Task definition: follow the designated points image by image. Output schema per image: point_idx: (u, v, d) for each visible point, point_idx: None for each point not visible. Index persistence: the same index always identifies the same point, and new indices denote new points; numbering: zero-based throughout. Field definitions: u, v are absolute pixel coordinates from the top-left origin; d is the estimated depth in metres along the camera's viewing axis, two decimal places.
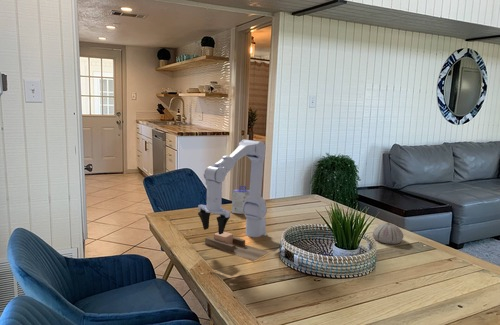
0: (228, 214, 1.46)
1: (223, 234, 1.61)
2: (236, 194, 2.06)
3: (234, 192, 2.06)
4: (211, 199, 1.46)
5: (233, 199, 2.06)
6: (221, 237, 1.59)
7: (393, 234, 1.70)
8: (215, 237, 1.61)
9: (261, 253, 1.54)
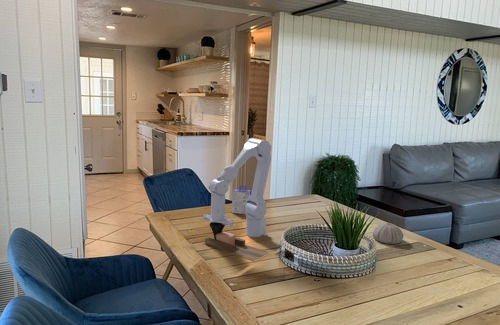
0: (231, 224, 1.58)
1: (225, 235, 1.60)
2: (236, 194, 2.06)
3: (234, 192, 2.06)
4: (215, 210, 1.59)
5: (233, 199, 2.06)
6: (223, 238, 1.58)
7: (393, 233, 1.70)
8: (217, 238, 1.60)
9: (261, 253, 1.54)
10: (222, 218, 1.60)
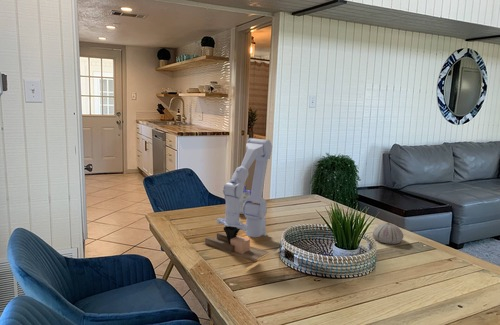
0: (246, 228, 1.54)
1: (240, 239, 1.56)
2: None
3: None
4: (230, 213, 1.54)
5: None
6: (238, 242, 1.54)
7: (393, 233, 1.70)
8: (232, 242, 1.56)
9: (261, 253, 1.54)
10: (237, 222, 1.56)
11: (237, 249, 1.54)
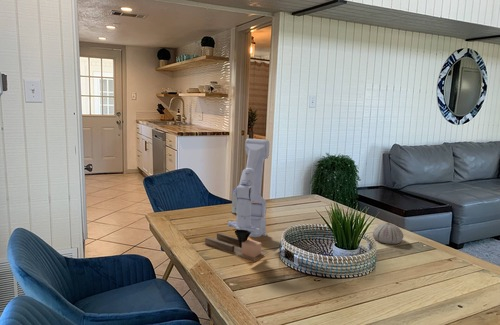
0: (258, 231, 1.51)
1: (251, 243, 1.52)
2: None
3: (234, 192, 2.06)
4: (241, 216, 1.51)
5: (233, 199, 2.06)
6: (250, 246, 1.51)
7: (393, 234, 1.70)
8: (243, 246, 1.52)
9: (261, 253, 1.54)
10: (248, 225, 1.53)
11: (249, 253, 1.51)
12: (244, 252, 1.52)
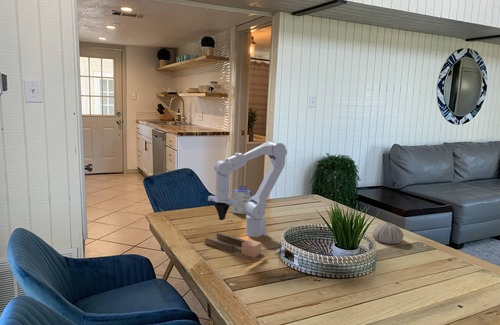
0: (235, 204, 1.62)
1: (251, 243, 1.52)
2: (236, 194, 2.06)
3: (234, 192, 2.06)
4: (220, 190, 1.62)
5: (233, 199, 2.07)
6: (250, 246, 1.51)
7: (393, 233, 1.70)
8: (243, 246, 1.52)
9: (261, 253, 1.54)
10: (227, 198, 1.64)
11: (249, 253, 1.51)
12: (244, 252, 1.52)
